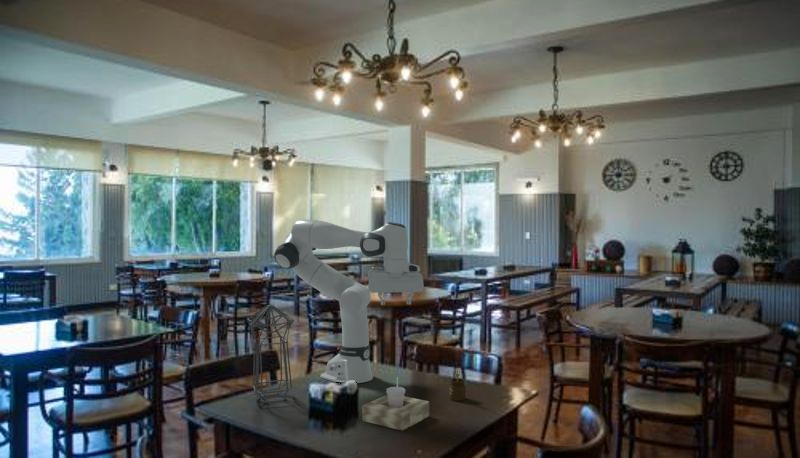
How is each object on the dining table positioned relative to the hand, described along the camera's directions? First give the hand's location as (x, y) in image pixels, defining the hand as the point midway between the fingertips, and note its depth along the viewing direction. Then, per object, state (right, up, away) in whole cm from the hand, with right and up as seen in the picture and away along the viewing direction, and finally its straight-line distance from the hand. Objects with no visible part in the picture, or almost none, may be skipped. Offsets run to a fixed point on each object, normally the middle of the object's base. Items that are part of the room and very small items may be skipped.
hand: (395, 304), depth 205 cm
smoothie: (0, -35, -19) cm, 40 cm away
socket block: (0, -35, -19) cm, 40 cm away
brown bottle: (+23, -35, +2) cm, 42 cm away
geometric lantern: (-46, -35, +1) cm, 58 cm away
